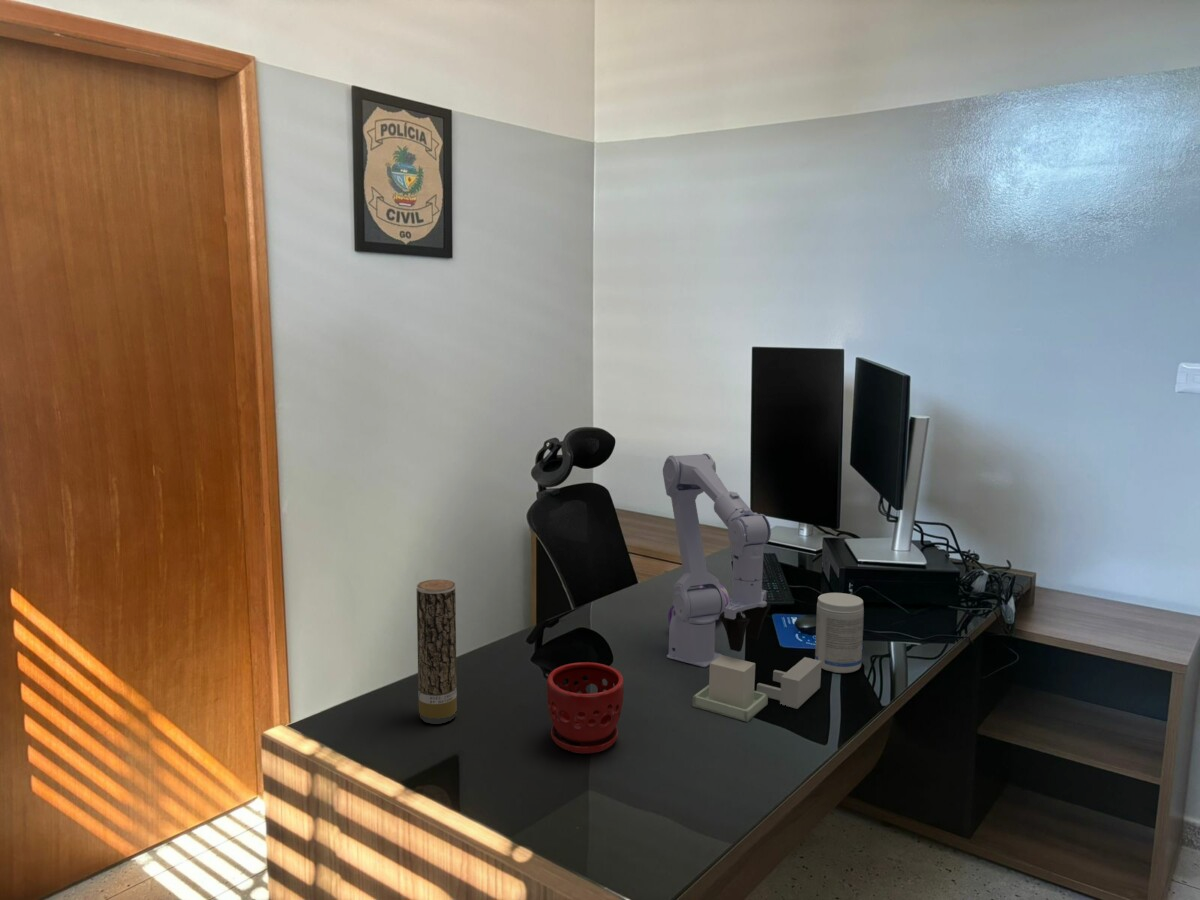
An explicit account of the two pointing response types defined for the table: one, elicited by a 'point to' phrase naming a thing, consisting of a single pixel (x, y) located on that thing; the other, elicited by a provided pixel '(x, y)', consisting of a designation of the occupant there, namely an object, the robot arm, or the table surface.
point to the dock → (795, 683)
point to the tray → (705, 703)
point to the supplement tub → (839, 632)
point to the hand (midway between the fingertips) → (744, 644)
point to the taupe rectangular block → (732, 681)
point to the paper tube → (436, 648)
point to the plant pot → (585, 706)
